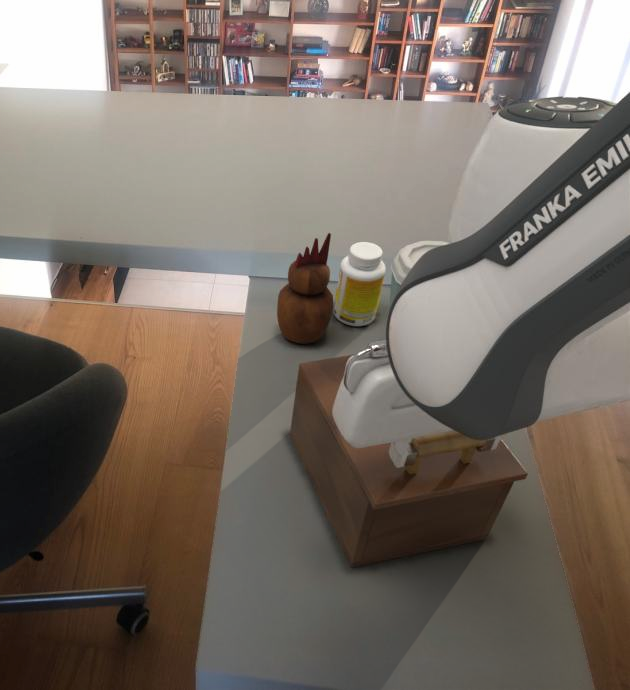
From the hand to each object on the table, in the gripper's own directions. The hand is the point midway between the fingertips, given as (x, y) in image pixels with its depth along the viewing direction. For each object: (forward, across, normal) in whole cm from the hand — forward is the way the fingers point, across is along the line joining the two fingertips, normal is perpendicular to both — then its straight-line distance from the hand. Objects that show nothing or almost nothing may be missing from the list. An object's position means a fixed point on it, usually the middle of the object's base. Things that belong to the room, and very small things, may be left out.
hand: (441, 452), depth 58 cm
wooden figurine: (+13, 0, +31) cm, 34 cm away
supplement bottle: (+13, +9, +33) cm, 37 cm away
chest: (+12, 0, +7) cm, 14 cm away
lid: (+2, 0, +6) cm, 7 cm away
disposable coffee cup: (+13, +12, +23) cm, 29 cm away
